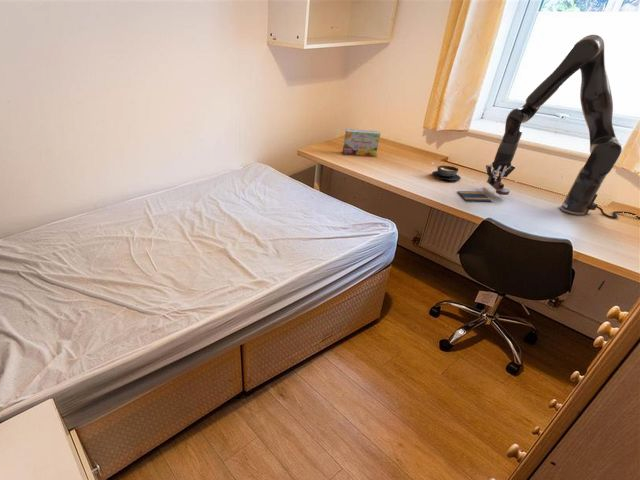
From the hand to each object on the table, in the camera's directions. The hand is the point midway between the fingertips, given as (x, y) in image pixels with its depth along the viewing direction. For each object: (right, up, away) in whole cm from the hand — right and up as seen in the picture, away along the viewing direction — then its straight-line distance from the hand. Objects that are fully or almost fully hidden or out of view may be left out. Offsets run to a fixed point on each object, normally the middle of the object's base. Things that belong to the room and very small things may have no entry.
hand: (493, 184), depth 195 cm
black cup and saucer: (-16, +8, +18) cm, 25 cm away
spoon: (0, -3, -3) cm, 4 cm away
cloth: (-13, -8, -5) cm, 16 cm away
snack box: (-53, +31, +52) cm, 81 cm away
